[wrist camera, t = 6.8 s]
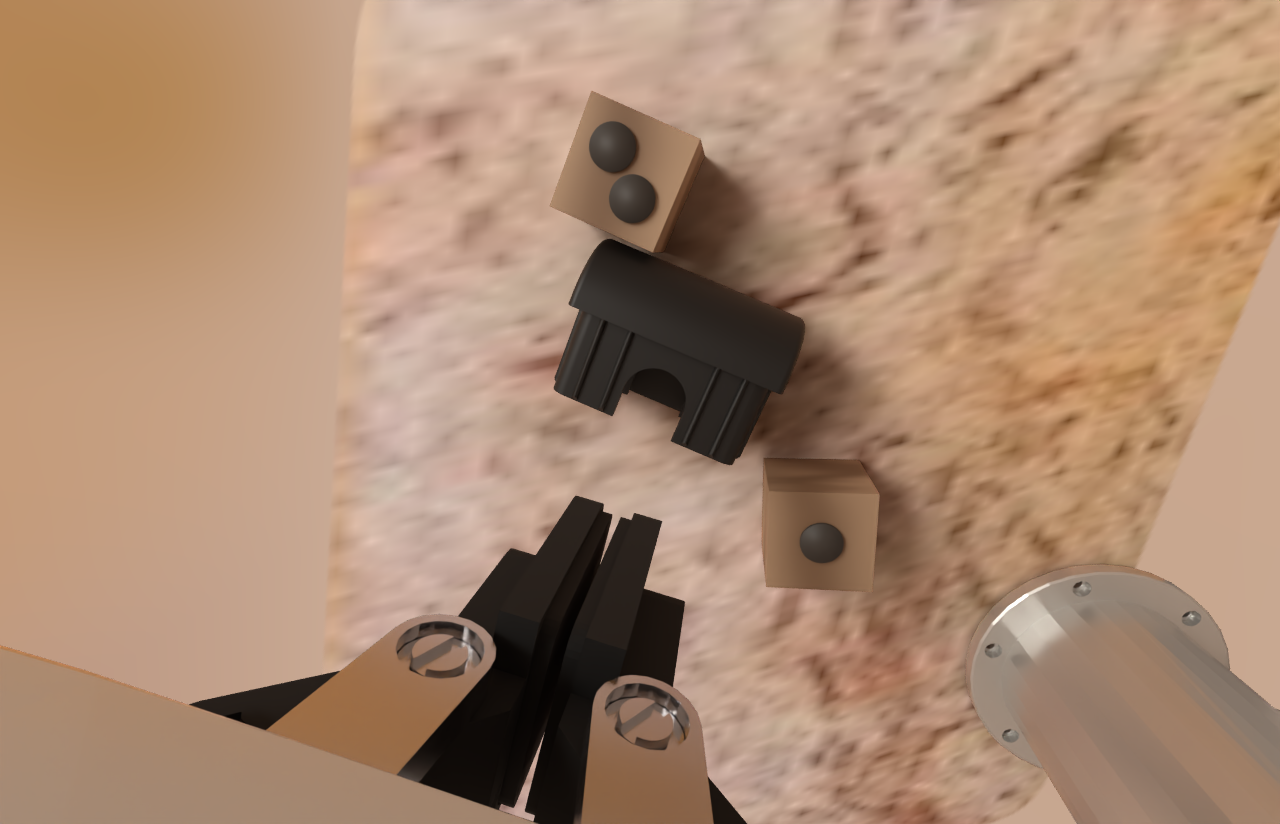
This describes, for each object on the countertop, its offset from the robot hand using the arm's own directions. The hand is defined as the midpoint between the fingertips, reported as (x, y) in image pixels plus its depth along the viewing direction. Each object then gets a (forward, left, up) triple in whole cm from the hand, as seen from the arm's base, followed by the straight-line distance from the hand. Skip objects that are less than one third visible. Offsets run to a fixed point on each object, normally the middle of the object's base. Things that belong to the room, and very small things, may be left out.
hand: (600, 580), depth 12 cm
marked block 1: (+5, -8, -23) cm, 25 cm away
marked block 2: (-8, +6, -23) cm, 25 cm away
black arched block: (+1, -1, -23) cm, 23 cm away
